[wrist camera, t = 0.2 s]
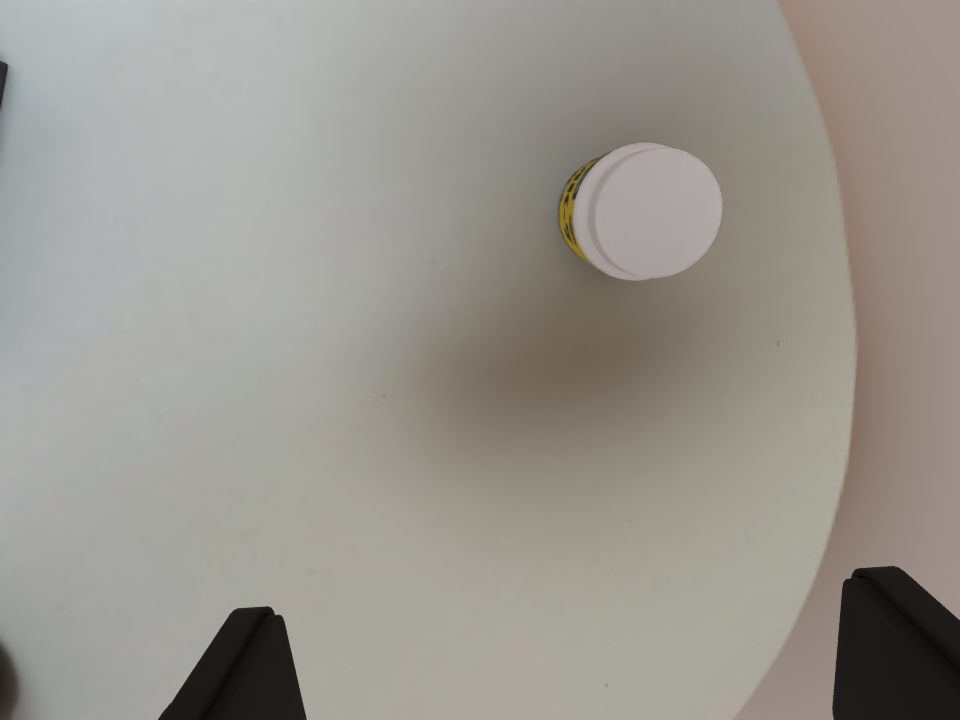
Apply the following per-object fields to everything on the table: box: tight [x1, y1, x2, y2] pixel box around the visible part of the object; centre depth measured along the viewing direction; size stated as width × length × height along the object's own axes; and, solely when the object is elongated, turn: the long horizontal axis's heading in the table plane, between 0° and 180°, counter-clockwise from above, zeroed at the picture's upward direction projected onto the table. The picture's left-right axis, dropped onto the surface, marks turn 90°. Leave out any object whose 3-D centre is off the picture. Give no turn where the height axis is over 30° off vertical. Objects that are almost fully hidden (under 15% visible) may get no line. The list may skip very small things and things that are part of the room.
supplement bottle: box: [558, 142, 722, 281], centre depth 21 cm, size 5×5×8 cm
